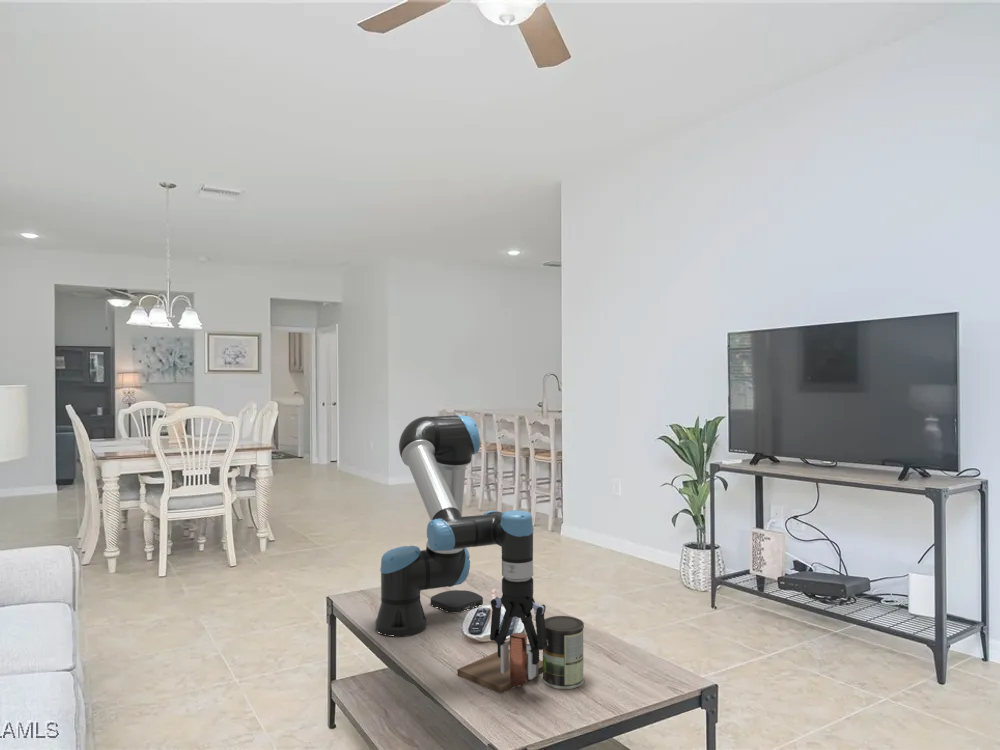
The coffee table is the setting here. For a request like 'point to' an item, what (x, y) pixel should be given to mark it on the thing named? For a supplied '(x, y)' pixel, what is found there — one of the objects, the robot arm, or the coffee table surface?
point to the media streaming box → (456, 600)
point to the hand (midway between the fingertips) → (518, 673)
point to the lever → (519, 659)
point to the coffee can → (563, 652)
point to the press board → (490, 673)
